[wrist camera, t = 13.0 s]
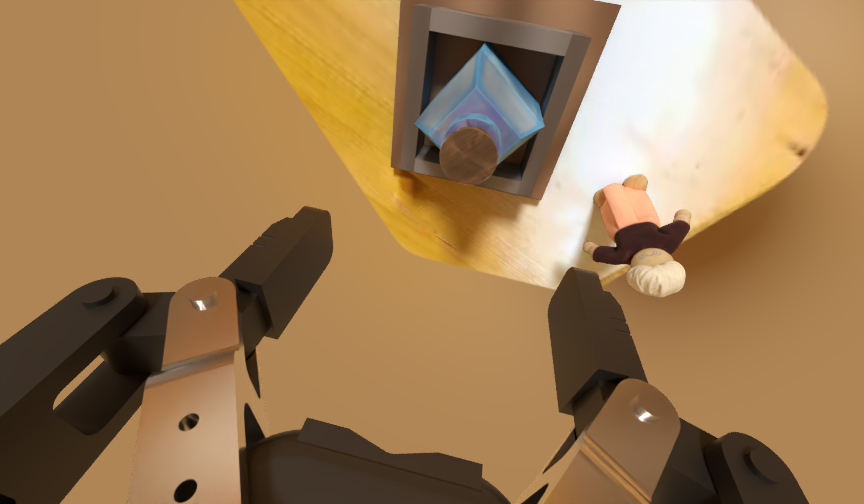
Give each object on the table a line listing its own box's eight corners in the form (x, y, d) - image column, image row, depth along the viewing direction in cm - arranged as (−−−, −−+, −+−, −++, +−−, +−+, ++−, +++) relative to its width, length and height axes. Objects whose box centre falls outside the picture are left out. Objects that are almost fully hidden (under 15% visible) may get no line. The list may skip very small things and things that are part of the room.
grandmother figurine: (648, 155, 27) (723, 243, 18) (668, 187, 29) (747, 285, 19) (565, 204, 32) (589, 296, 22) (585, 230, 33) (616, 327, 23)
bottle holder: (393, 163, 32) (379, 183, 29) (406, -33, 23) (387, -38, 19) (540, 195, 32) (543, 219, 28) (617, 5, 22) (637, 6, 19)
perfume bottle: (480, 153, 29) (465, 226, 20) (431, 101, 27) (390, 154, 18) (538, 102, 26) (553, 161, 16) (487, 38, 24) (471, 64, 14)
